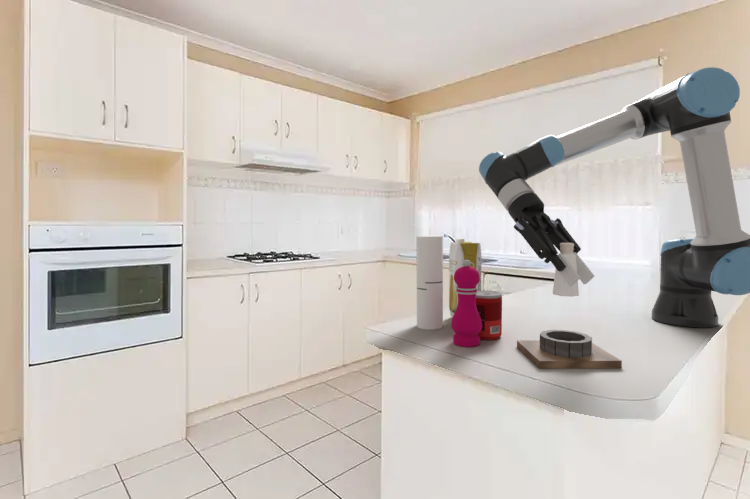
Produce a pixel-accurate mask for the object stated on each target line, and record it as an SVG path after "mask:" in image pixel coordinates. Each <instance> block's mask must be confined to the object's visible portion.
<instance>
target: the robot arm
mask: <svg viewBox="0 0 750 499" xmlns="http://www.w3.org/2000/svg"><path fill="white" fill-rule="evenodd" d="M740 93H741V89H740V86H739V83H738V81H737V79H736V77H735V76H734V75H732V73H731V72H729V71H725V69H723V68H721V67H719V68H718V67H715V66H714V67H710V66H709V67H705V68H701V69H698V70H695V71H694V70H693V71H691V72H690V73H687V74H685V75H683V76H682V77H680V78H678V79H677V80H673V81H672V82H671V83H669V84H666V85H664V86H662V87H660V88H658V89H656V90H655V91H654V92H652V93H650V94H648V95H646V96H645V97H643V98H641V99H639V100H638V101H635V102H633V103H631V104H628V105H625V106H624V107H623V108H622V110H621V111H620V112H617V113H614V114H612V115H609V116H607V117H604V118H602V119H599V120H597V121H594V122H591V123H588V124H585V125H583V126H581V127H580V126H579V127H578V128H575V129H573V130H570V131H568V132H565V133H562V134H560V135H557V136H555V135H554V134H549V135H546V136H543V137H541V138H539V139H537V140H536V141H534V142H531V143H529V144H528V145H526V146H524V147H522V148H520V149H518V150H517V151H515V152H512V153H510V154H507V155H506V154H504V153H503V152H501V151H496V152H495V151H494V152H490V153H488V154H487V155H486V156H484V157H483V158H482V159H481V162H480V163H479V166H478V171H479V174H480V176H481V177H482V179H483V181H484V183H485V184H486V185H487V186H488V188H489V189H490V190H491V191H492V192H493V194H494V195H495V196H496V198H497V199H498V201H499V202H500V203H501V205H502V206H503V208H504V209H505V210H506V211H507V212H508V214H509V216H510V218H511V219H512V220H513V221H514V223H515V224H514V225H513V228H514V230H515V231H517V232H518V233H519V234H520V235H521V237H522V238H523V239H524V241H525V242H526V243H527V244H528V245H529V247H530V248H531V249H532V250H533V251H534V253H535V254H536V256H538V258H539V259H540V260H543V259H544V260H543V262H544V263H545V264H549V263H550V262H551V264H552V265H553V267H555V270H556V269H557V270H558V271H559V272H560V274H561V275H562V276H563V278H564V279H565V280H566V282H567V283H568V284H569V286H572V285H574V284H575V283H576V282H577V281H578V282H579V280H580V282H581V283H582V284H583V285H587V284H588V283H589V282H590V281H591V280H592V279H593V278H595V275H594V273H593V272H592V271H591V269H590V268H589V267H588V266H587V264H585V262H584V261H583V259H582V258H581V257H580V256H579V255H578V253H580V251H581V250H582V248H581V246H580V245H579V244H578V243H577V242H576V240H575V239H574V238H573V237H572V235H571V234H570V233H569V230H567V229H566V227H565V226H564V225H563V222H562V220H561V219H560V218H558V217H557V218H556V219H555V220H554V219H552V218H551V217H550V216H549V215H548V214H546V213H545V204H544V202H543V200H542V199H541V198H540V197H539V195H537V193H535V191H534V189H533V188H532V187H531V186H530V185H529V184H528V183H527V180H528V179H531V178H532V177H535V176H536V175H539V174H540V173H543V172H545V171H547V170H549V169H550V168H554V167H556V166H558V165H561V164H564V163H567V162H569V161H572V160H574V159H577V158H580V157H583V156H586V155H588V154H591V153H593V152H596V151H599V150H601V149H604V148H608V147H611V146H612V145H614V144H615V145H616V144H618V143H620V142H623V141H625V140H628V139H631V140H639V139H641V138H644V137H648V136H651V135H655V134H656V135H657V134H660V133H664V132H665V133H666V132H670V136H671V138H672V139H675V140H676V141H678V142H679V144H680V149H681V155H682V160H683V167H684V172H685V177H686V179H685V180H686V183H687V190H688V195H689V201H690V206H691V213H692V218H693V223H694V229H695V233H696V234H695V237H694V238H683V239H670V240H666V241H664V242H663V243H662V245H661V250H660V271H659V272H660V273H659V274H660V276H659V277H660V278H659V294H658V295H657V298H656V300H655V302H654V304H653V308H652V310H651V319H652V320H654V321H656V322H659V323H662V324H663V323H664V324H667V325H671V326H679V327H687V328H688V327H689V328H714V327H718V326H719V315H718V312H717V308H716V307H715V304H714V301H713V299H712V292H715V293H718V294H721V295H732V296H744V295H748V294H750V234H749V233H747V232H745V231H744V230H743V229H742V227H741V221H740V215H739V208H738V205H737V204H738V203H737V197H736V193H735V192H736V191H735V186H734V181H733V175H732V170H731V168H732V167H731V164H730V159H729V158H730V156H729V153H728V147H727V146H728V145H727V139H726V134H725V130H726V129H727V128H728V127H729V125H731V123H732V118H731V117H732V116H731V111H732V110H733V109H734V108H735V107H736V103H737V102H739V99H740V95H741V94H740ZM560 243H573V244H574V247H573V248H574V250H573V254H574V255H575V256H576V264H577V272H576V271H575V270H574V268H573V267H572V266H571V264H570V263H569V262H568V261H567V259H566V258H565V257H564V255H563V254H562V253H560Z"/></svg>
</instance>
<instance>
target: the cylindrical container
mask: <svg viewBox="0 0 750 499" xmlns="http://www.w3.org/2000/svg"><path fill="white" fill-rule="evenodd" d="M443 276H444V236H443V235H431V234H430V235H416V328H418V329H421V330H430V331H431V330H432V331H433V330H434V331H435V330H440V329H442V328H443V327H444V324H443V323H444V319H443V318H444V316H443V315H444V303H443V302H444V296H443V295H444V282H443V281H444V277H443Z"/></svg>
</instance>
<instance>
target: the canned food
mask: <svg viewBox="0 0 750 499" xmlns="http://www.w3.org/2000/svg"><path fill="white" fill-rule="evenodd" d="M477 292H478V293H477V294H476V298H475V302H476V308H477V311H478V313H479V315H480V318H481V321H482V330H481V331H480V332H479V333H478V335H479V336H480V341H481V340H482V341H495V340H499V339H500V338H501V336H502V334H503V333H502V328H503V327H502V325H503V324H502V321H503V313H502V312H503V294H502V292H500V291H496V290H495V291H494V290H481V291H477Z"/></svg>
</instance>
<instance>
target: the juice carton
mask: <svg viewBox="0 0 750 499" xmlns="http://www.w3.org/2000/svg"><path fill="white" fill-rule="evenodd" d="M481 246H482V245H481V243H480V242H472V241H465V238H464V237H460V238H455V241H452V242H450V246H449V254H448V256H449V257H448V258H449V259H448V267H449V268H448V273H449V274H448V277H449V278H448V283H449V284H448V292H449V293H448V308H449V309H448V310H449V314H450V317H451V318H453V315H454V313H455V311H456V308H457V305H458V293H456V291H457V290H456V287H457V284H456V283H455V281H454V274H455V271H456V270H457V269H458V268H460V267H463V266H464V265H463V262H464V261H465V260H469V261H470V262H471V265H470V267H473V268H475V269H476V270H477V271H478V272H479V275H480V281H479V283H478V284H477V285H476V287H477V288H478V289H477V291H482V248H481Z"/></svg>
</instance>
